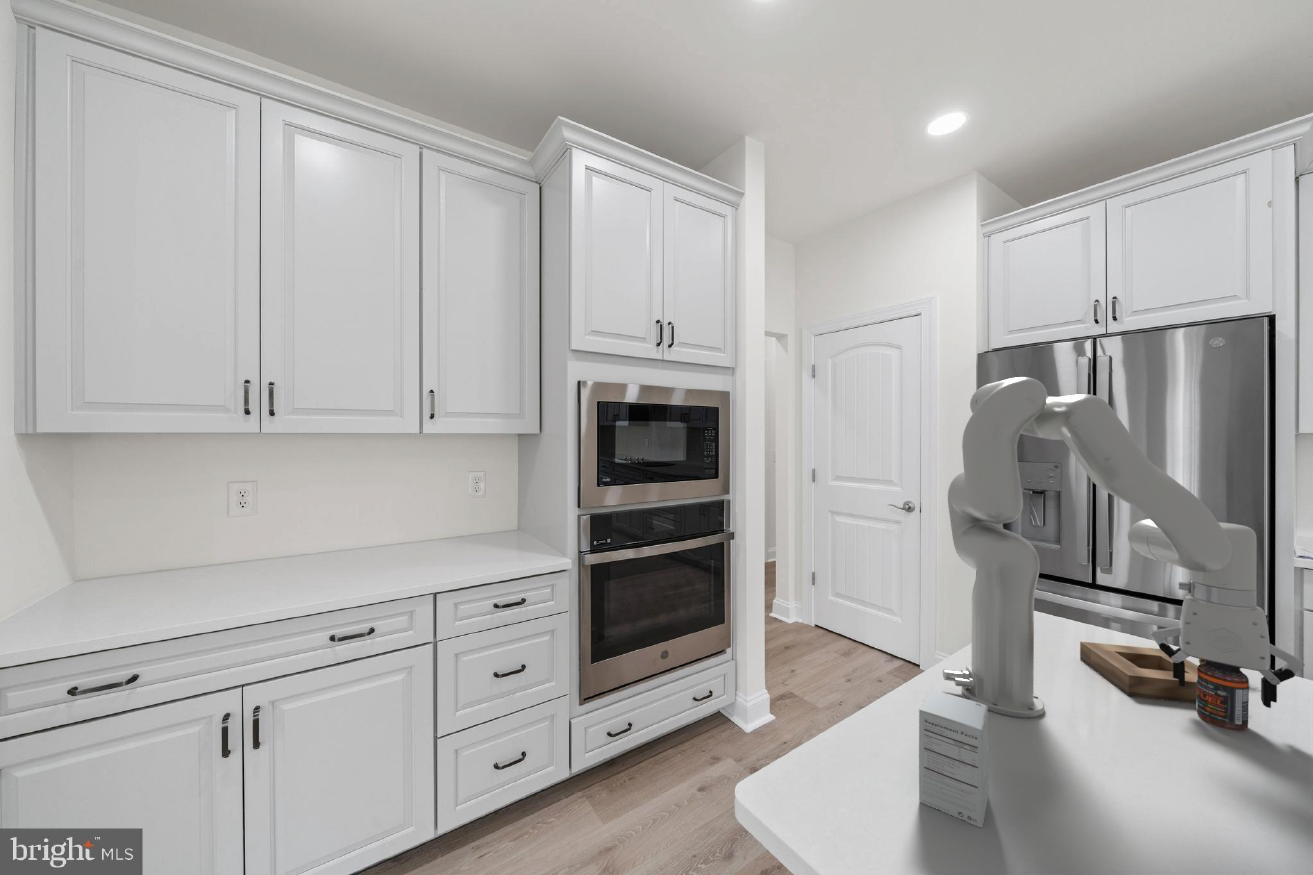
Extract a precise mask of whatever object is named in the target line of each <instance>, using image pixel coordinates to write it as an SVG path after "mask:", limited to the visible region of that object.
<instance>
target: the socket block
mask: <svg viewBox="0 0 1313 875" xmlns="http://www.w3.org/2000/svg"><path fill="white" fill-rule="evenodd" d="M1079 643H1080V644H1079V645H1080V646H1079V647H1080V648H1079V649H1080V650H1079V659H1080V661H1082V662H1083V663H1084V664H1085V665H1086V666H1088V667H1089V668H1091V669H1092V670H1093V671H1095V672H1096V673H1098V674H1099V675H1100V676H1101V677H1102V678H1104V679H1105V680H1106V681H1108V682H1109V683H1110V684H1112V685H1113V686H1115V688H1117V689H1118V690H1119V691H1121V692H1122V693H1124V694H1125V695H1126V696H1128V697H1134V698H1142V699H1151V700H1158V701H1159V700H1160V701H1167V702H1168V701H1169V702H1178V703H1185V704H1193V705H1196V701H1197V667H1198V665H1199V664H1198V665H1197V664H1196V663H1195V662H1192V661H1191V660H1188V658H1186V659H1184V660H1183V661H1184V663H1185V686H1183V687H1182V686H1179V681H1178V679H1175V678H1173V661H1172V660H1171V658H1170V657H1169V656H1167V655H1166V654H1165V653H1164V652H1163V651H1162V650H1161V649H1160V648H1154V647H1153V648H1152V647H1142V646H1133V645H1132V646H1131V645H1123V644H1122V645H1121V644H1113V643H1112V644H1110V643H1099V642H1091V641H1090V642H1089V641H1080V642H1079Z"/></svg>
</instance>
